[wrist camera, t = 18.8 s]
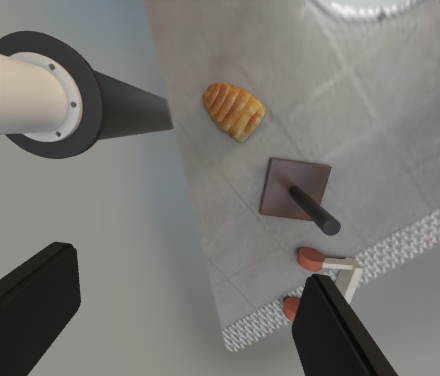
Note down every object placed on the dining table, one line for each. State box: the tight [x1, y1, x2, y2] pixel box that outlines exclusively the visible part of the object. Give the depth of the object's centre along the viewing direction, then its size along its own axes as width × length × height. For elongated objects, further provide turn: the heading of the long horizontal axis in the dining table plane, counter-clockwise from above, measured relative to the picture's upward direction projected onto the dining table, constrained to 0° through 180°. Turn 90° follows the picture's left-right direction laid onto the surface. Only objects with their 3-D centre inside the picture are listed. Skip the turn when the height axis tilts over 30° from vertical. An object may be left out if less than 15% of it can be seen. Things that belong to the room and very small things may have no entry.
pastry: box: [203, 83, 265, 143], centre depth 31 cm, size 9×7×4 cm
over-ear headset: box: [283, 248, 364, 322], centre depth 41 cm, size 4×14×12 cm
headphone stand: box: [259, 158, 341, 236], centre depth 30 cm, size 10×10×14 cm
